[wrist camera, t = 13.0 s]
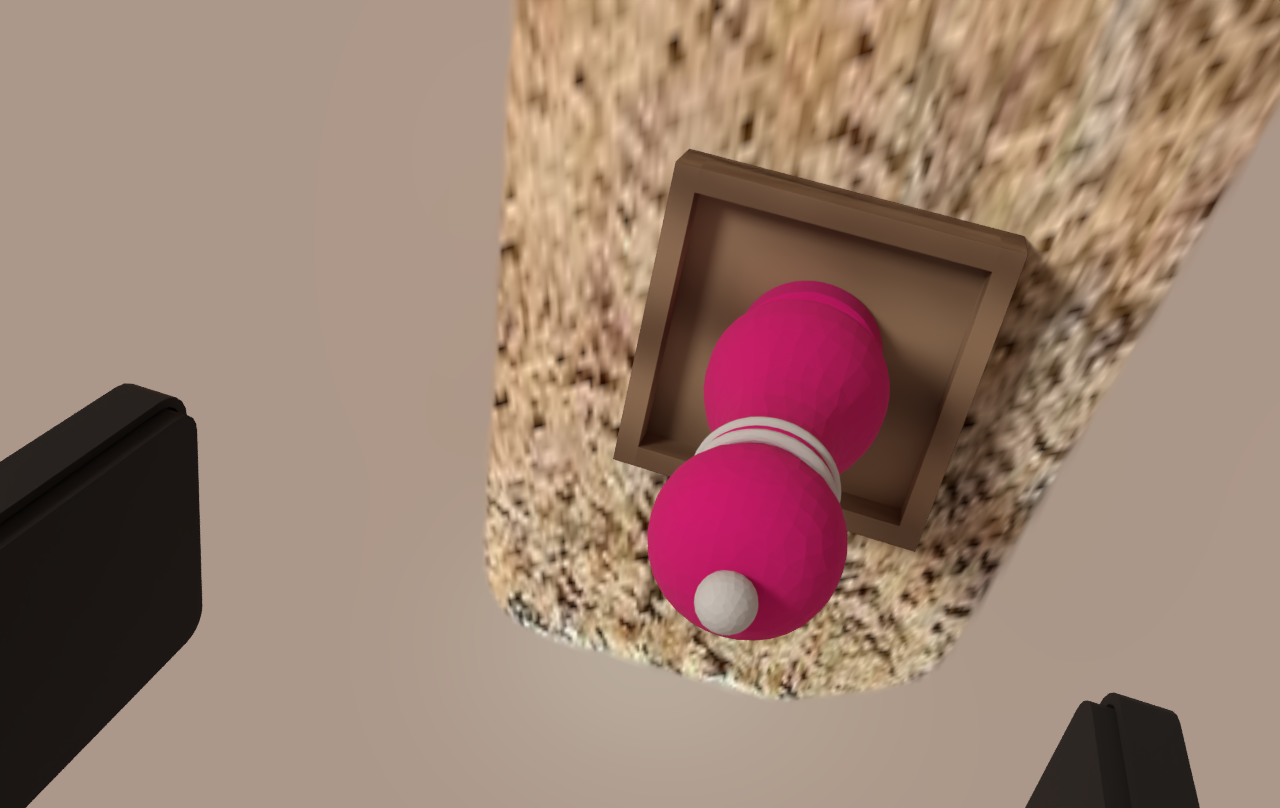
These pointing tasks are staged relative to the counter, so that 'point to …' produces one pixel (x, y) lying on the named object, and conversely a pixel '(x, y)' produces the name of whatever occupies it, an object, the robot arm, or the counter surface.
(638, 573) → the counter surface
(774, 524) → the pepper mill
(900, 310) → the tray
